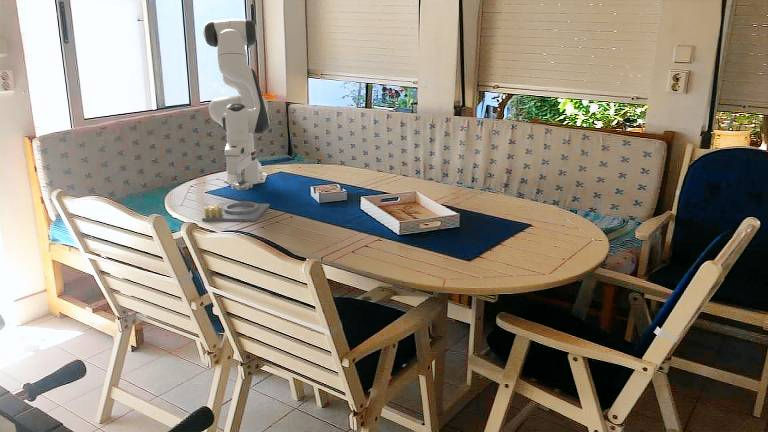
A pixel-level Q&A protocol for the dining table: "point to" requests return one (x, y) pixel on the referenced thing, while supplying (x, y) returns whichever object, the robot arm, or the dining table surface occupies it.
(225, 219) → the carrier board
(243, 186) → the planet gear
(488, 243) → the dining table surface
